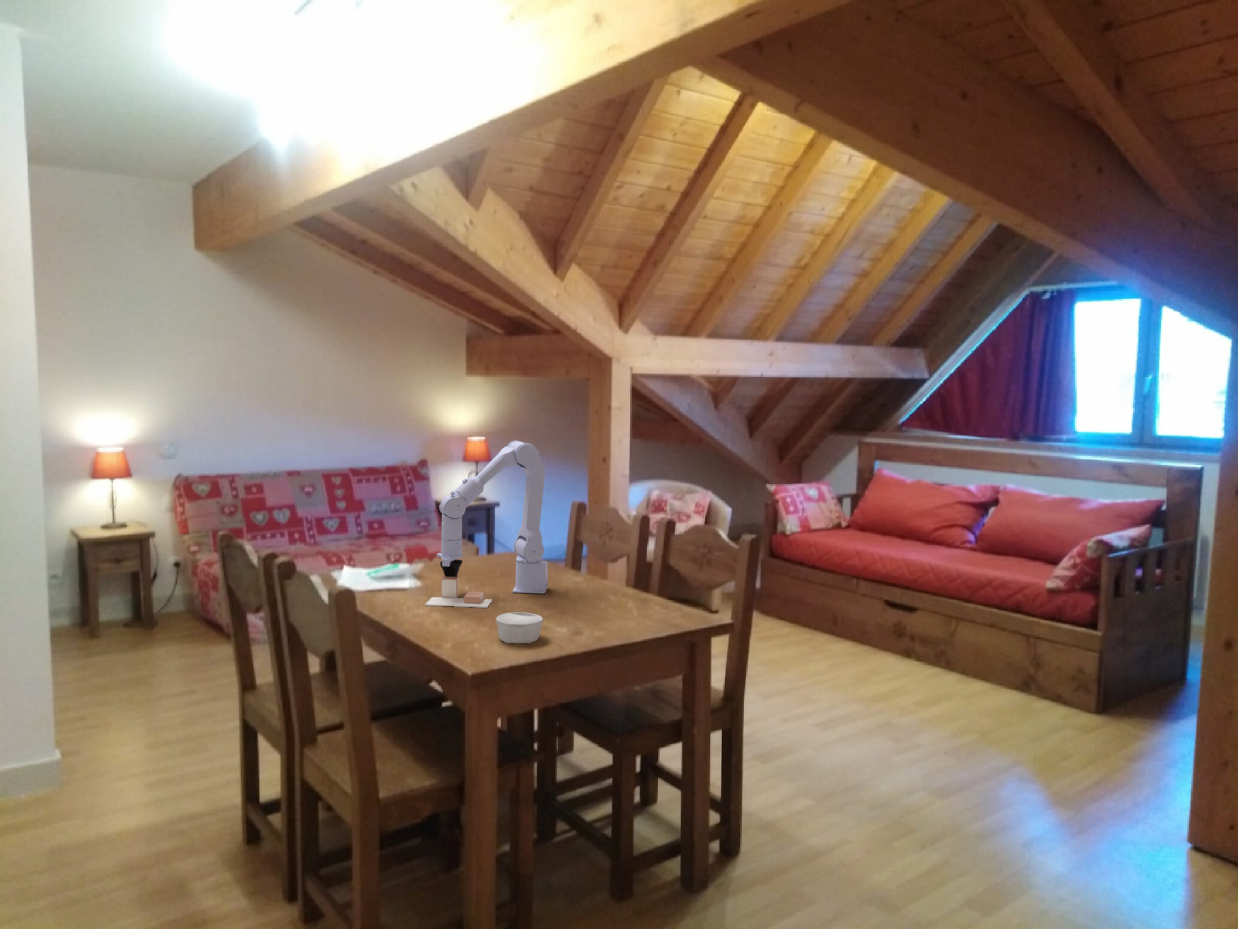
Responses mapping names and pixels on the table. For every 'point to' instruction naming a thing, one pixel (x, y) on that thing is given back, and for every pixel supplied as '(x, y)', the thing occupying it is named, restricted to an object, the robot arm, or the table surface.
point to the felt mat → (457, 602)
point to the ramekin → (519, 627)
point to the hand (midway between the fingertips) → (451, 586)
